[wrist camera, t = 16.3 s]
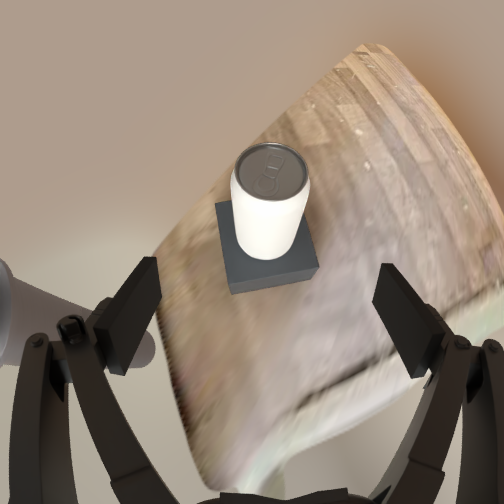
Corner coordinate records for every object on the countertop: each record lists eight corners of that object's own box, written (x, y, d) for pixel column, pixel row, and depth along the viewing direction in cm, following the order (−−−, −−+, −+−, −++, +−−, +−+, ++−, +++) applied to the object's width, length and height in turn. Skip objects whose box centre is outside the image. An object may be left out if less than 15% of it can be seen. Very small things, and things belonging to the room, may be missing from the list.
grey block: (231, 294, 35) (228, 284, 31) (219, 221, 39) (214, 203, 34) (310, 279, 36) (319, 267, 31) (292, 209, 39) (296, 189, 35)
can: (227, 251, 32) (215, 192, 21) (247, 202, 34) (245, 130, 23) (285, 269, 31) (303, 217, 20) (300, 217, 33) (321, 150, 22)
